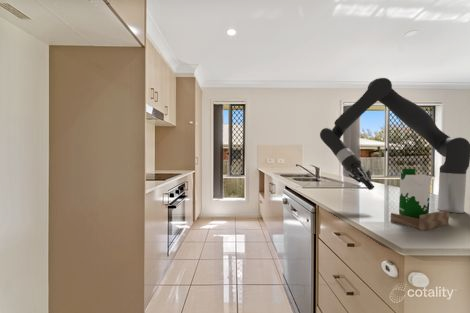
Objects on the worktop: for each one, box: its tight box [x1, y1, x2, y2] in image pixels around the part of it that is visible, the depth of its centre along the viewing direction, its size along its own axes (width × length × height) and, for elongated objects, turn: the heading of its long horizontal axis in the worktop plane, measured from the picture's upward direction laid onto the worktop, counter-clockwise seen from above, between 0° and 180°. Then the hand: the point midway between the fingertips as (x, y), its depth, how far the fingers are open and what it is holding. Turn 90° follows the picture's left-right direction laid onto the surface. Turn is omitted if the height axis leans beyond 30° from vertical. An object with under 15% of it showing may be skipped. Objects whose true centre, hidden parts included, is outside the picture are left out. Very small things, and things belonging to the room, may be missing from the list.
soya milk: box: [398, 167, 432, 219], centre depth 96 cm, size 9×9×20 cm
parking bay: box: [390, 210, 450, 232], centre depth 94 cm, size 18×12×5 cm, turn 118°
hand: (371, 188), depth 110 cm, fingers closed
